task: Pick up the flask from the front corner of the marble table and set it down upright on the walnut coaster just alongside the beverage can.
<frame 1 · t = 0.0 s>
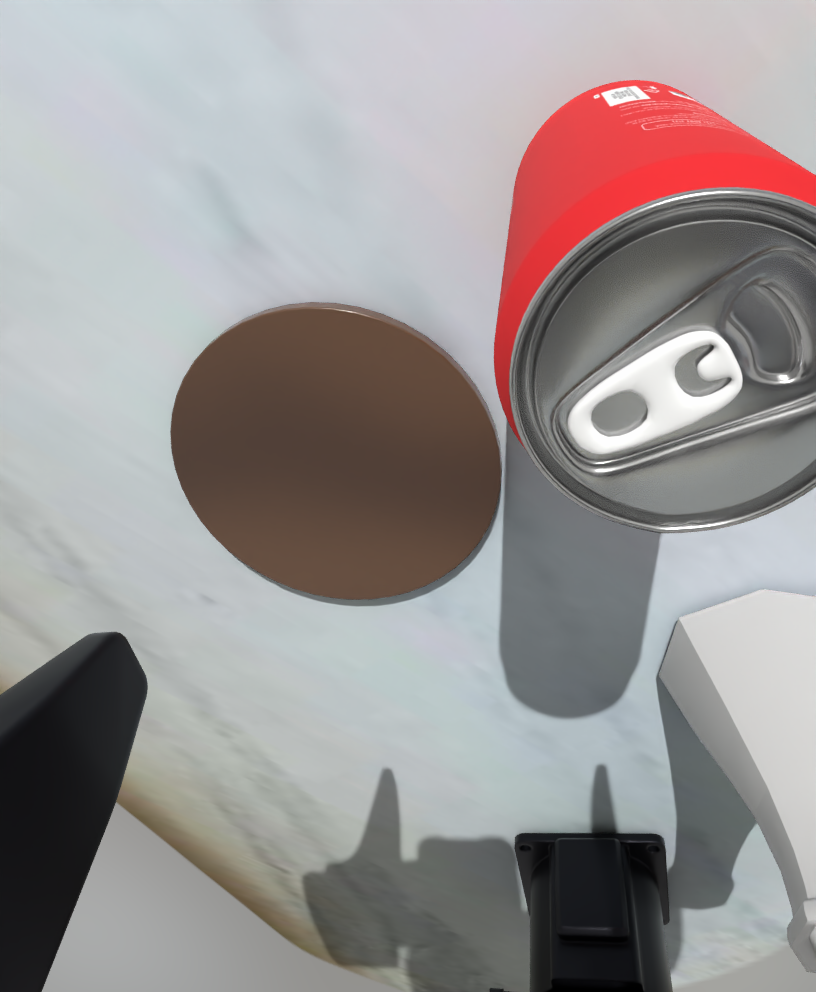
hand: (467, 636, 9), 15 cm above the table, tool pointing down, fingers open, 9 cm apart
beverage can: (614, 188, 20), on the table
flask: (761, 657, 28), on the table
coaster: (335, 463, 25), on the table
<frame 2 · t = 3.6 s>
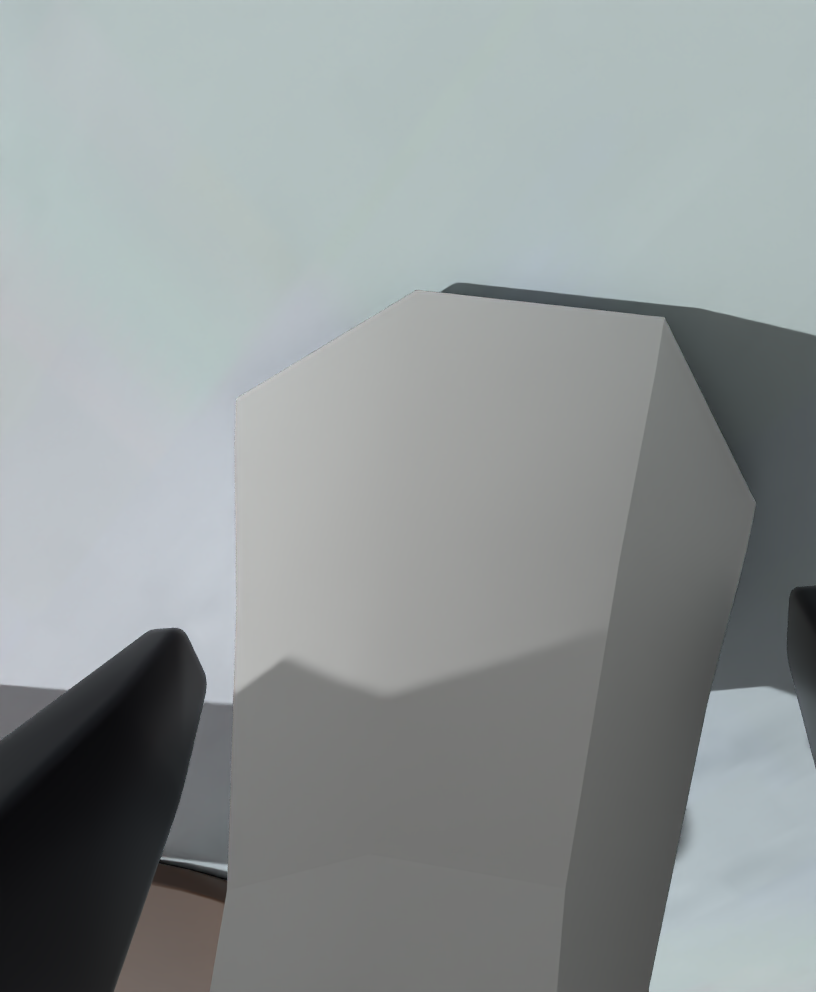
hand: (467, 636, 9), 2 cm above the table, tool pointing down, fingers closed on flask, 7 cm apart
flask: (482, 519, 11), on the table, touching gripper
coaster: (185, 981, 20), on the table
when the fingers open (3 cm above the table, at t = 8.6 s): flask stays where it is, resting on coaster.
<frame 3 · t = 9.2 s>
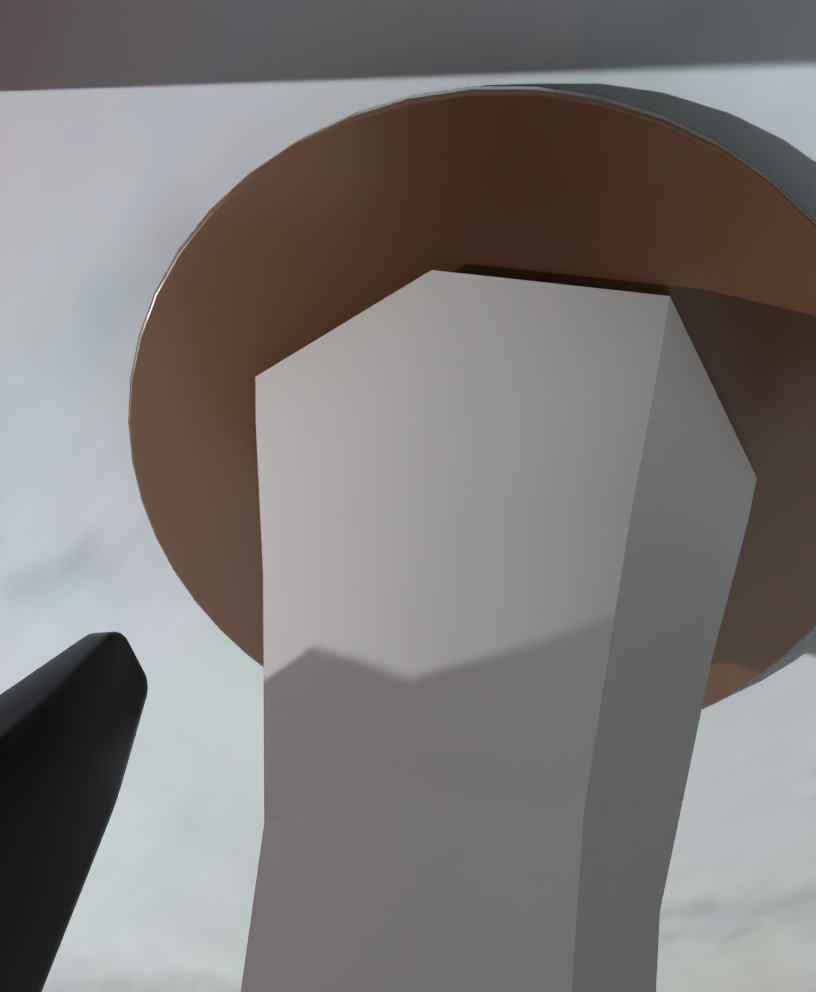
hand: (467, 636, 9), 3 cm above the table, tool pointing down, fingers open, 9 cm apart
flask: (491, 495, 12), resting on coaster
coaster: (485, 487, 12), on the table
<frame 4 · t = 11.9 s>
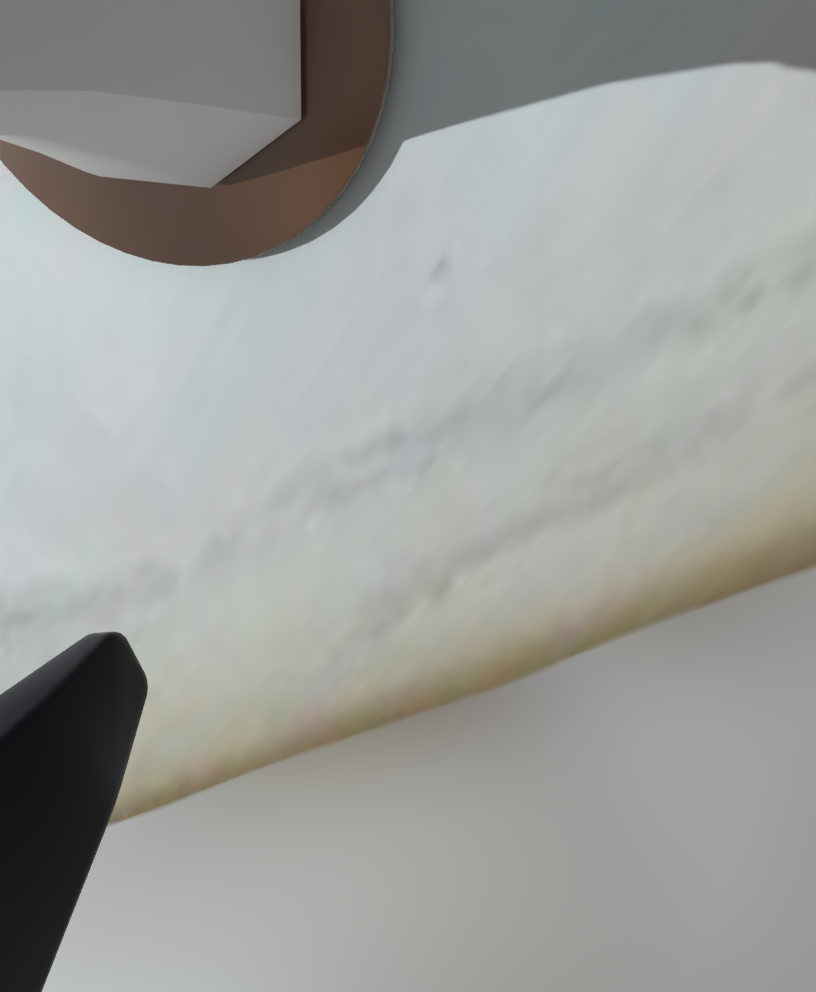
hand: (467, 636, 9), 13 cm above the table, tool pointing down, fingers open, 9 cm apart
flask: (158, 19, 17), resting on coaster
coaster: (159, 21, 18), on the table
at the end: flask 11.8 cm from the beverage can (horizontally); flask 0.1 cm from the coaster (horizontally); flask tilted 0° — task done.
